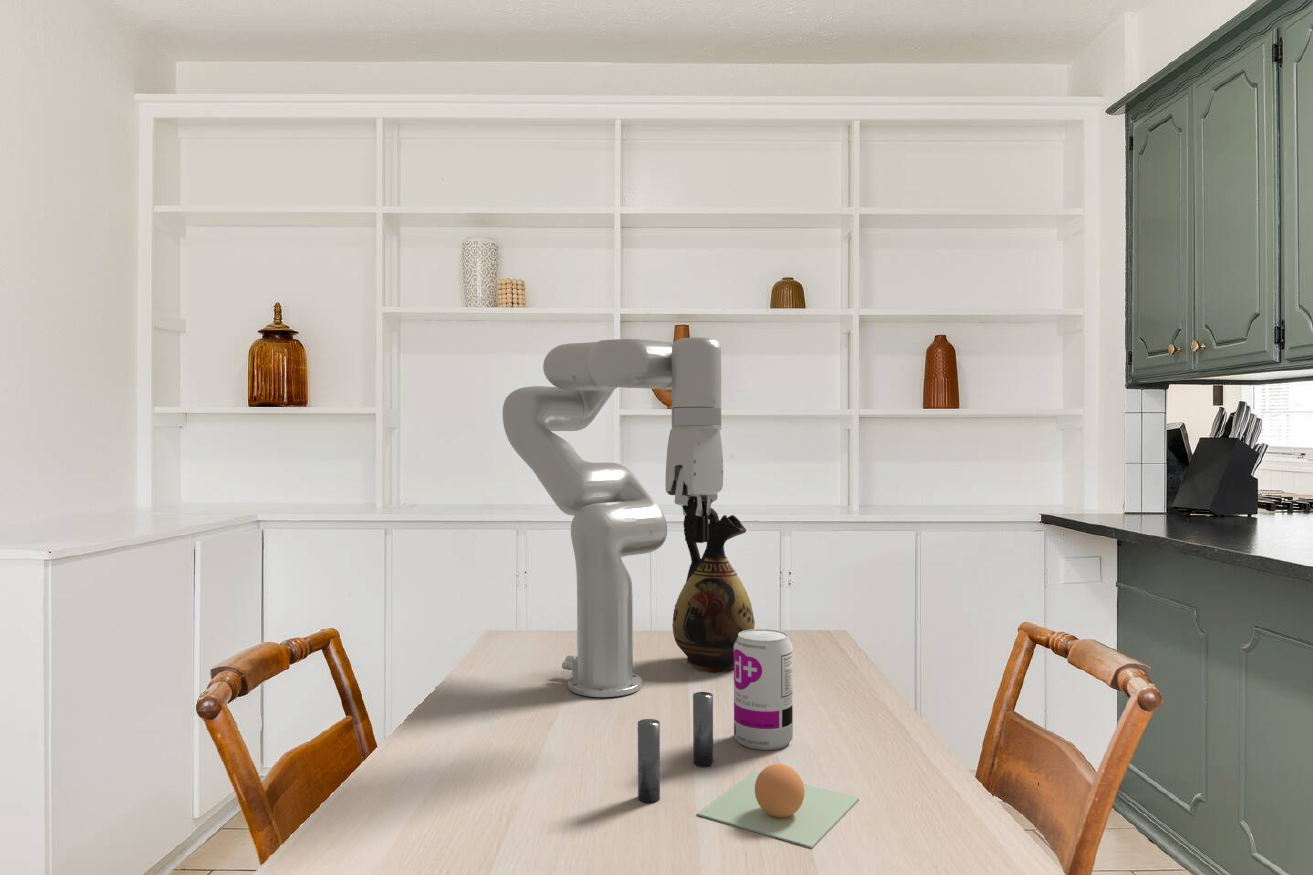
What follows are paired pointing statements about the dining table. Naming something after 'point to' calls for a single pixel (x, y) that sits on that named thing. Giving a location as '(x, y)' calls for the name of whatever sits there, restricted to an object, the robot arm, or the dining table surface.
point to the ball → (779, 790)
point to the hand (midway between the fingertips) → (696, 541)
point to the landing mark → (798, 828)
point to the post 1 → (648, 760)
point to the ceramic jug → (712, 602)
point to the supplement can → (763, 689)
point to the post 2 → (703, 729)
